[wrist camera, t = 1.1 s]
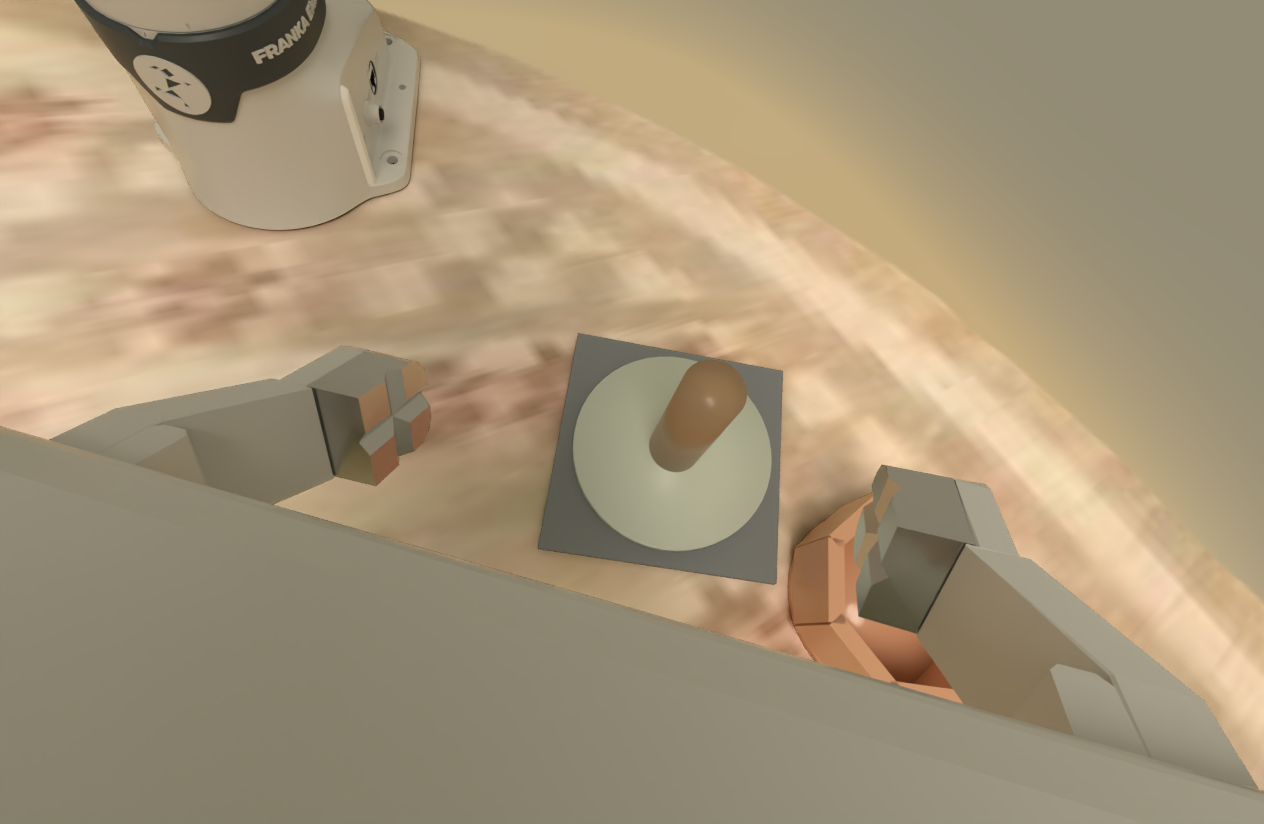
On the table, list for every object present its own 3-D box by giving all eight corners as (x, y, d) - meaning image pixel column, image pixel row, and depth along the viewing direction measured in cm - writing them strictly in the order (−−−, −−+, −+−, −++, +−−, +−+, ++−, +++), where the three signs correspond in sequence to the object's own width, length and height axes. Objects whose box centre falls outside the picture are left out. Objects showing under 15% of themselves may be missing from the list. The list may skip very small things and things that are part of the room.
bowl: (789, 500, 41) (828, 479, 36) (945, 526, 42) (1006, 509, 37) (785, 683, 37) (828, 692, 31) (960, 707, 38) (1032, 719, 32)
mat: (577, 336, 43) (578, 333, 43) (780, 373, 45) (782, 371, 44) (538, 548, 37) (538, 547, 37) (773, 584, 39) (776, 584, 38)
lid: (589, 347, 43) (604, 257, 33) (769, 380, 44) (838, 303, 34) (556, 534, 37) (561, 496, 27) (762, 566, 39) (840, 541, 28)
